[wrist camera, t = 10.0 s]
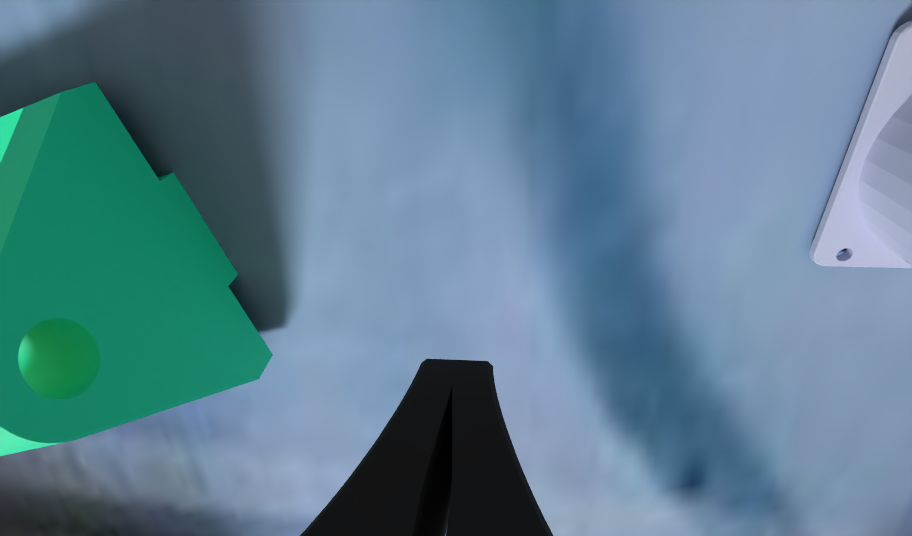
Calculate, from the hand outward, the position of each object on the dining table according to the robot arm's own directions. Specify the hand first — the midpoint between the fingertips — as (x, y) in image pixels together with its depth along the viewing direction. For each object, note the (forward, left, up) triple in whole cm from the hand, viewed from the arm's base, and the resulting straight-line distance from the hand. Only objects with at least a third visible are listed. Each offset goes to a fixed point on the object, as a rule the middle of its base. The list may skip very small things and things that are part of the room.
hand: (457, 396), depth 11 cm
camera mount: (+14, +2, -10) cm, 18 cm away
